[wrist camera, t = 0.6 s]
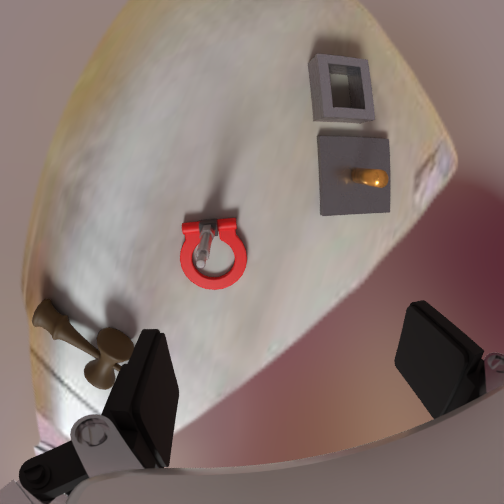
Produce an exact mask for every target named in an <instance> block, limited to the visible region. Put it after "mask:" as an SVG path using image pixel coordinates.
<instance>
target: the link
mask: <svg viewBox="0 0 504 504" xmlns="http://www.w3.org/2000/svg"><path fill="white" fill-rule="evenodd" d="M308 69H309V78H310V88H311V98H312V109H313V121H323V122H347V123H364V122H368V121H373V120H375V115H374V104H373V95H372V87H371V79H370V72H369V66H368V60H365V59H359V58H352V57H345V56H336V55H327V54H316V55H315V56H314V57H313V59H312V60H311V61H310V62H309V63H308ZM329 73H331V74H341V75H348V82H349V90H350V99H351V108H340V107H333V103H332V93H331V84H330V76H329Z"/></svg>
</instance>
